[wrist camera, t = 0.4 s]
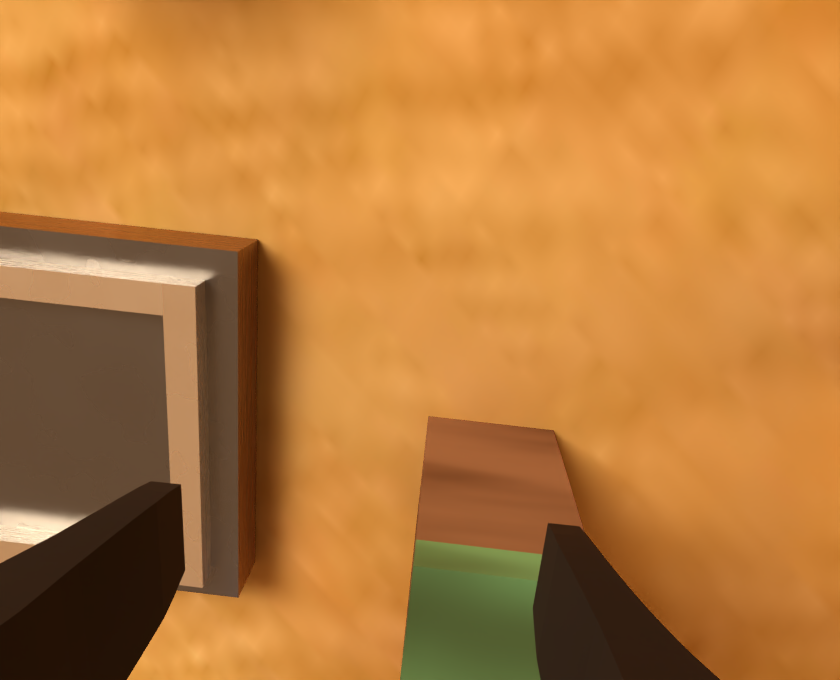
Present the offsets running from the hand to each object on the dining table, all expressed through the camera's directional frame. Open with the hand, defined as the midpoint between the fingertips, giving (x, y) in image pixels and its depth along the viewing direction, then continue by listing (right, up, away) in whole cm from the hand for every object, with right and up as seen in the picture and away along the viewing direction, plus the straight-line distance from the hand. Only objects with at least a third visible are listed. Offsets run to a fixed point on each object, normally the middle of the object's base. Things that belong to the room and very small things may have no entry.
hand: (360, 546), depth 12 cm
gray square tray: (-11, +2, +11) cm, 16 cm away
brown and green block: (+4, -1, +11) cm, 12 cm away
